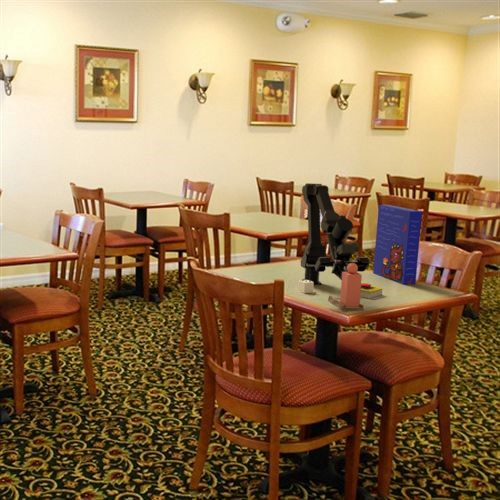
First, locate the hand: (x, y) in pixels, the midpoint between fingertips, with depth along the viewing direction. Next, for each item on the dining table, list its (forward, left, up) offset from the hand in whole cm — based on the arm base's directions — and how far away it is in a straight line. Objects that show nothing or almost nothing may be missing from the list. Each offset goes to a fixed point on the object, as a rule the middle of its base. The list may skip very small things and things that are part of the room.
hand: (347, 284), depth 230 cm
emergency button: (-18, +12, -8) cm, 23 cm away
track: (-1, 0, -8) cm, 8 cm away
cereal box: (-46, +35, -8) cm, 58 cm away
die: (-21, -9, -8) cm, 24 cm away
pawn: (+3, 0, -6) cm, 7 cm away
